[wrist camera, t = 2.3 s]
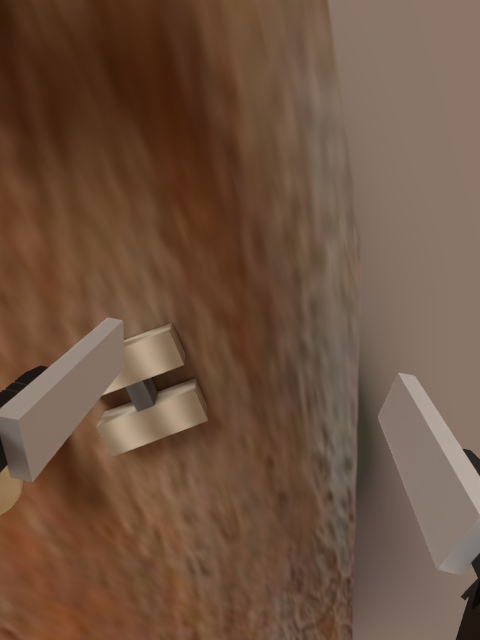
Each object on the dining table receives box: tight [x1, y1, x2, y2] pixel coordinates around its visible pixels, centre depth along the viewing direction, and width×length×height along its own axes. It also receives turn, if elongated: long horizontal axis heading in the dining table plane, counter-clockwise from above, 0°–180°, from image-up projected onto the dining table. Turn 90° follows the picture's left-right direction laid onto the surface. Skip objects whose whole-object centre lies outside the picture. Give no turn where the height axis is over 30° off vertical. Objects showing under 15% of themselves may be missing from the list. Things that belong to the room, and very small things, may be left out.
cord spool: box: [0, 466, 24, 515], centre depth 39 cm, size 8×8×12 cm
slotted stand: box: [96, 323, 208, 457], centre depth 43 cm, size 14×14×4 cm
